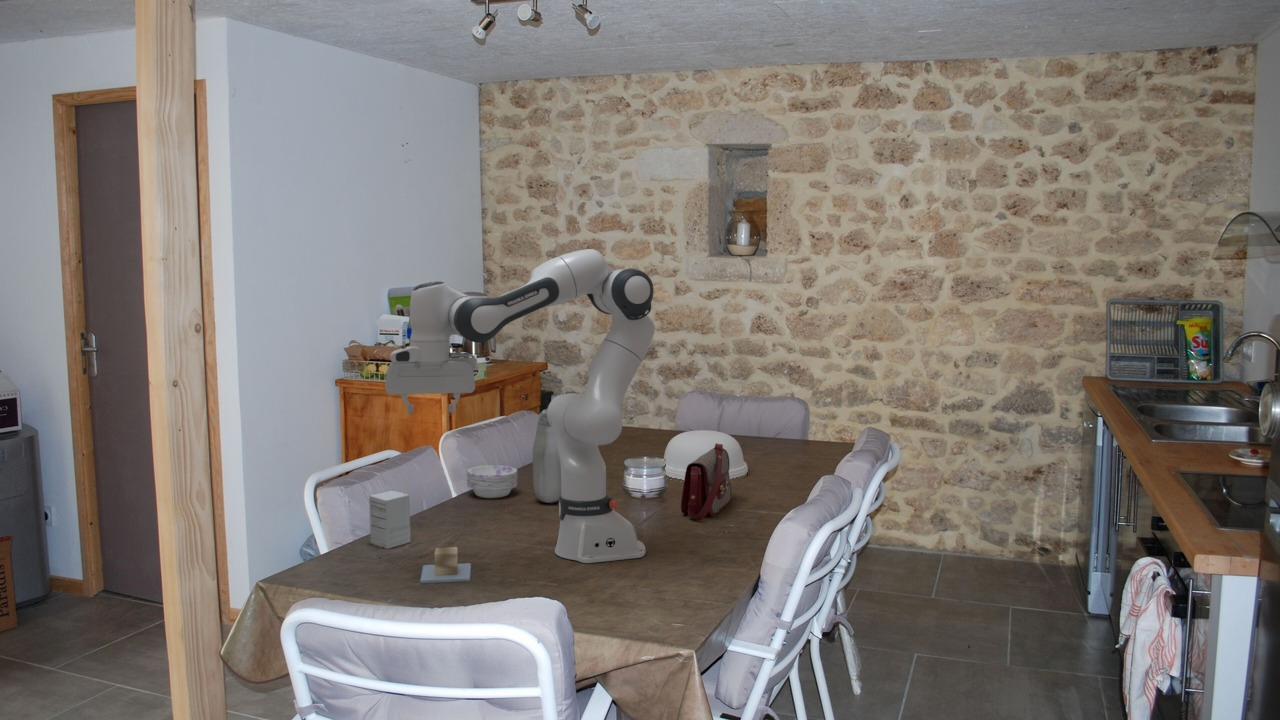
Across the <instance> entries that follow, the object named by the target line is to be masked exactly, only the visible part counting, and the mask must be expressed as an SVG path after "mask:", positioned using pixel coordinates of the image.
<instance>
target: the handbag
mask: <svg viewBox="0 0 1280 720" xmlns="http://www.w3.org/2000/svg"><path fill="white" fill-rule="evenodd" d="M729 467H730V463H729V456H728V453H727V451H726V450H725V449H723V444H715V447H714V448H713V449H711V450H710V451H709V452H707V453H705V454H704V455H702V456H700V457H699V458H698V459H696V460H695V461H694V462H692V463H691V464H689V465H688V466H687V469H686V473H685V479H684V482H683V488H682V492H681V493H682V494H681V502H680V511H681V513H682V514H686V513H687V516H688V517H689V518H690V519H692V520H694V519H695V521H697V520H700V521H701V520H704V518H706V516H707V515H708V514H709V515H710V516H711V517H715V516H716V515H717V514H718V513H719V512H718V511H720V510H721V509H722V508H723V507H724V506H725V505H726V504H727V503H728V502H729V501H731V499H732V486H731V482H730V478H729ZM729 503H730V502H729ZM729 503H728V504H729ZM728 504H727V505H728ZM727 505H726V506H727ZM726 506H725V507H726ZM725 507H724V508H725ZM724 508H723V509H724ZM723 509H722V510H723ZM722 510H721V511H722ZM721 511H720V512H721ZM685 512H686V513H685ZM717 512H718V513H717ZM716 513H717V514H716ZM695 514H696V515H695ZM715 514H716V515H715ZM714 515H715V516H714Z"/></svg>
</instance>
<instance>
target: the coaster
mask: <svg viewBox="0 0 1280 720" xmlns="http://www.w3.org/2000/svg"><path fill="white" fill-rule="evenodd" d="M471 568H472V563H470V562H469V563H467V562H466V563H464V562H463V563H458V572H457V575H440V576H435V564H424V565H422V570H421V576H420V579H419V580H420V581H419V582H420V584H432V583H433V584H434V583H435V584H437V583H452V582H453V583H456V582H457V583H459V582H471V571H472V569H471Z"/></svg>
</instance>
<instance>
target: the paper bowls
mask: <svg viewBox="0 0 1280 720" xmlns="http://www.w3.org/2000/svg"><path fill="white" fill-rule="evenodd" d="M466 473H467V474H466V475H467V476H466V481H467V482H466V483H467V487H468V488H470V489H472V491H473V493H474V494H475V495H476V496H477V497H480V498H484V499H497V498H498V499H500V498H504V497H506V496H508V495H509V494H510V493H511V491H512V489H513V488H516V487H517V486H518V469H517V468H515V467H512V466H509V465H508V466H507V465H488V464H487V465H478V466H477V465H476V466H474V467H470V468H468V469H467V470H466Z"/></svg>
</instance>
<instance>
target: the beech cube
mask: <svg viewBox="0 0 1280 720" xmlns="http://www.w3.org/2000/svg"><path fill="white" fill-rule="evenodd" d="M434 550H435V551H434V565H435V576H440V575H457V572H458V564H459V561H458V555H459V553H458V546H454V547H453V546H451V547H449V546H447V547H435V549H434Z"/></svg>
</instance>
